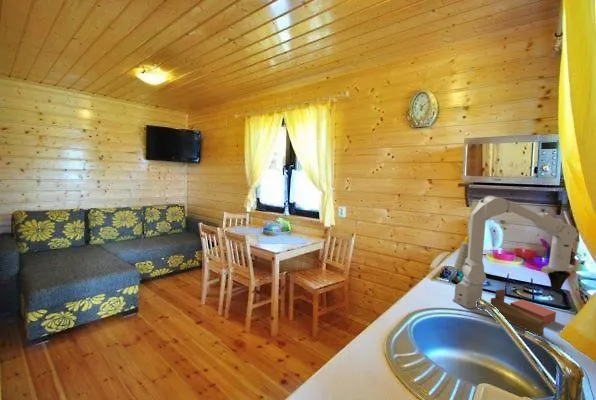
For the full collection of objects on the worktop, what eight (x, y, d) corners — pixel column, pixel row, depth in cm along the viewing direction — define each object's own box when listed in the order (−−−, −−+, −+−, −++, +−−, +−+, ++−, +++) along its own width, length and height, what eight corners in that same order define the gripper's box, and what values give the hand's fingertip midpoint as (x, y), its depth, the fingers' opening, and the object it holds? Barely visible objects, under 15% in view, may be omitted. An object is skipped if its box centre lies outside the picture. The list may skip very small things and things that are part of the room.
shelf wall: (538, 336, 99) (540, 321, 98) (489, 310, 116) (491, 298, 115) (543, 335, 99) (544, 321, 99) (493, 310, 116) (495, 297, 116)
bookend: (495, 310, 116) (497, 290, 115) (493, 309, 117) (496, 290, 116) (503, 309, 117) (505, 289, 116) (501, 308, 118) (503, 289, 117)
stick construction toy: (462, 283, 137) (457, 266, 142) (449, 287, 143) (444, 271, 147) (478, 286, 142) (473, 270, 147) (465, 290, 148) (460, 274, 152)
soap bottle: (456, 272, 158) (459, 234, 156) (451, 265, 170) (454, 229, 168) (482, 275, 155) (486, 236, 153) (476, 267, 167) (480, 231, 164)
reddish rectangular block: (542, 327, 105) (543, 316, 105) (509, 312, 115) (510, 302, 115) (554, 322, 109) (556, 312, 108) (521, 309, 119) (522, 299, 118)
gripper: (558, 259, 107) (553, 296, 108) (586, 257, 111) (581, 292, 112) (537, 253, 113) (533, 288, 115) (564, 251, 118) (560, 285, 119)
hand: (555, 289), depth 114 cm, fingers closed
